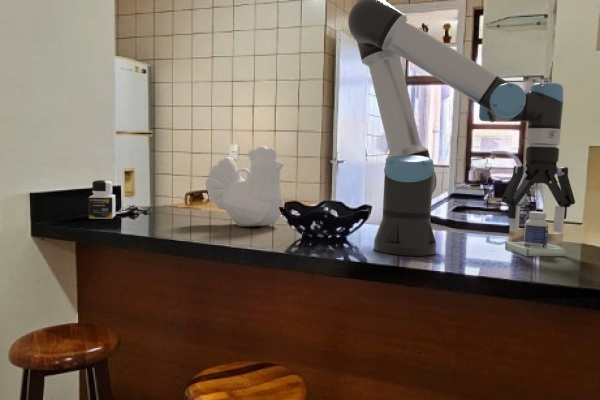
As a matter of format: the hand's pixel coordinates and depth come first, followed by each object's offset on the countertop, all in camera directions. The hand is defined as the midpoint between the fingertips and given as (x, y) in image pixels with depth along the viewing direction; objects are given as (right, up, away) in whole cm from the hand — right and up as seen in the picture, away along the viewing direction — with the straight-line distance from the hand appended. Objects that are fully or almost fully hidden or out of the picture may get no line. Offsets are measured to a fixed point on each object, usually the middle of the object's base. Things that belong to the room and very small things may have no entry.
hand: (536, 231), depth 134 cm
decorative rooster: (-77, 0, +31) cm, 83 cm away
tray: (0, -5, +1) cm, 5 cm away
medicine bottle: (-124, +2, +37) cm, 130 cm away
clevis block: (+5, -4, +12) cm, 13 cm away
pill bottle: (0, -5, 0) cm, 5 cm away
